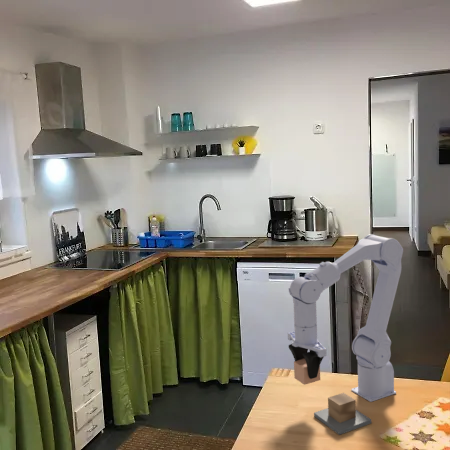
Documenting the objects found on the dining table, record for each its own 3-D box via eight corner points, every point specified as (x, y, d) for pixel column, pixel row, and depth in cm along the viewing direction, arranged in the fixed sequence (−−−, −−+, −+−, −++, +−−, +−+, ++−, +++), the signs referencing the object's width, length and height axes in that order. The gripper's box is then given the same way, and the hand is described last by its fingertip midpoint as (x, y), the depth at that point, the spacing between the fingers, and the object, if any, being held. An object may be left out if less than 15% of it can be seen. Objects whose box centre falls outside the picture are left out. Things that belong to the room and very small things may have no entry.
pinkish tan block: (310, 373, 133) (309, 357, 133) (320, 380, 129) (319, 363, 129) (294, 378, 131) (293, 361, 131) (304, 384, 127) (303, 367, 127)
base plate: (344, 406, 132) (344, 402, 132) (371, 423, 123) (371, 419, 123) (314, 416, 128) (314, 412, 128) (339, 434, 119) (339, 431, 119)
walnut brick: (343, 409, 128) (343, 392, 128) (355, 417, 124) (355, 399, 124) (328, 414, 126) (327, 397, 126) (340, 422, 122) (339, 405, 122)
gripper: (277, 319, 133) (279, 367, 135) (309, 335, 120) (310, 388, 122) (299, 314, 136) (301, 361, 138) (332, 329, 123) (334, 381, 125)
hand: (307, 373), depth 130 cm, fingers closed on pinkish tan block, 4 cm apart
